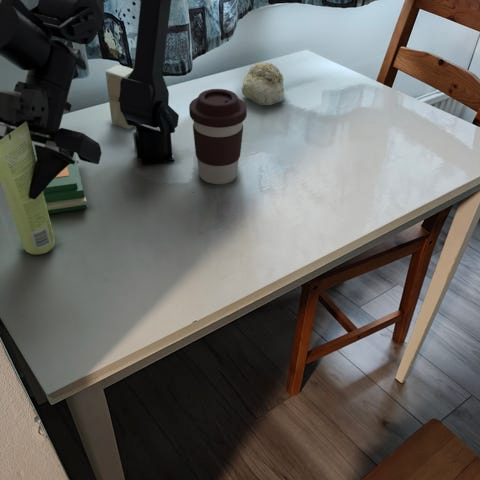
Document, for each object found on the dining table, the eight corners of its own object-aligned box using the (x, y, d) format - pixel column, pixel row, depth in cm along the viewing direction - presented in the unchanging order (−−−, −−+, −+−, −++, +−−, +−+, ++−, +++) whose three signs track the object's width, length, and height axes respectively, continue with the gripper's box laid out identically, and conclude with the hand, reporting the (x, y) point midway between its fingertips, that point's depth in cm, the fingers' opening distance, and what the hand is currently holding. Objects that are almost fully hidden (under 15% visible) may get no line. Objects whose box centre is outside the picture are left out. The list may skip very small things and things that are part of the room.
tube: (21, 233, 84) (-14, 123, 69) (53, 229, 85) (26, 119, 70) (24, 258, 81) (-12, 148, 65) (58, 253, 82) (30, 144, 67)
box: (111, 123, 112) (103, 70, 104) (124, 115, 115) (117, 63, 107) (130, 130, 110) (124, 76, 102) (143, 122, 113) (137, 69, 105)
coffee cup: (184, 166, 101) (180, 88, 90) (231, 157, 104) (233, 81, 93) (202, 193, 95) (200, 113, 84) (252, 183, 98) (256, 104, 87)
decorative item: (234, 68, 124) (273, 49, 122) (248, 103, 130) (286, 86, 127) (236, 82, 115) (278, 63, 113) (251, 119, 120) (292, 101, 118)
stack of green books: (79, 167, 100) (74, 144, 96) (88, 211, 90) (83, 187, 87) (33, 173, 98) (26, 150, 94) (38, 219, 88) (31, 195, 85)
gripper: (-51, 45, 67) (-81, 163, 69) (72, 71, 63) (38, 197, 64) (7, 83, 78) (-19, 185, 79) (116, 108, 74) (87, 215, 75)
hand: (19, 194), depth 74 cm, fingers closed on tube, 4 cm apart
